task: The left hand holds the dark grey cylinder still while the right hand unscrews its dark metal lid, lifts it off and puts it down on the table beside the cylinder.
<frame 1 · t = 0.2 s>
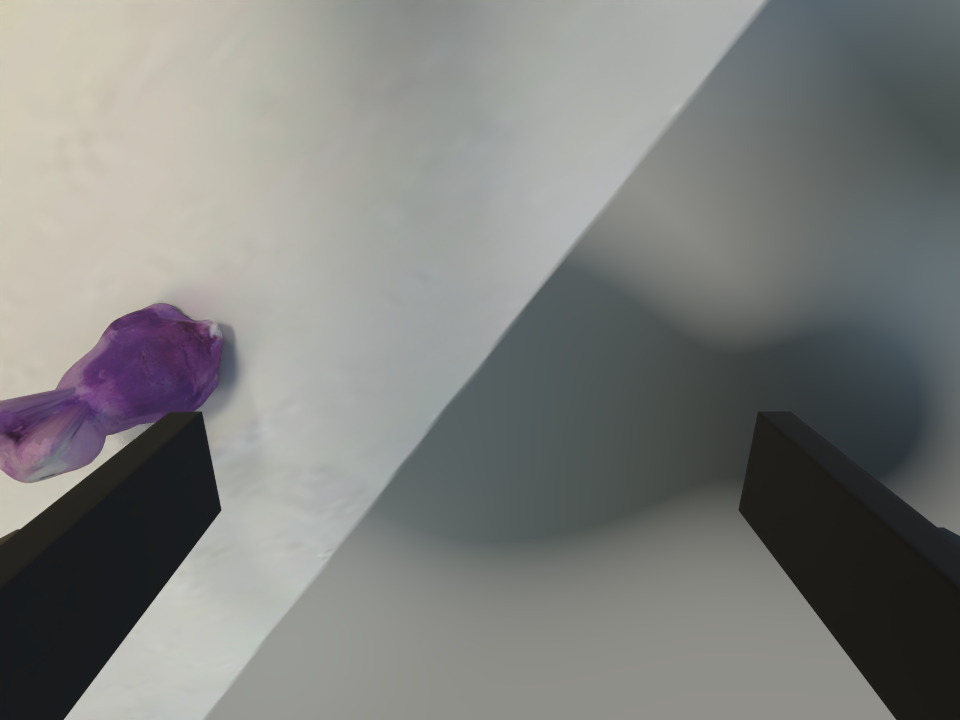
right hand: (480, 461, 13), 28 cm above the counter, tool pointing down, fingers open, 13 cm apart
figurine: (170, 362, 42), on the counter
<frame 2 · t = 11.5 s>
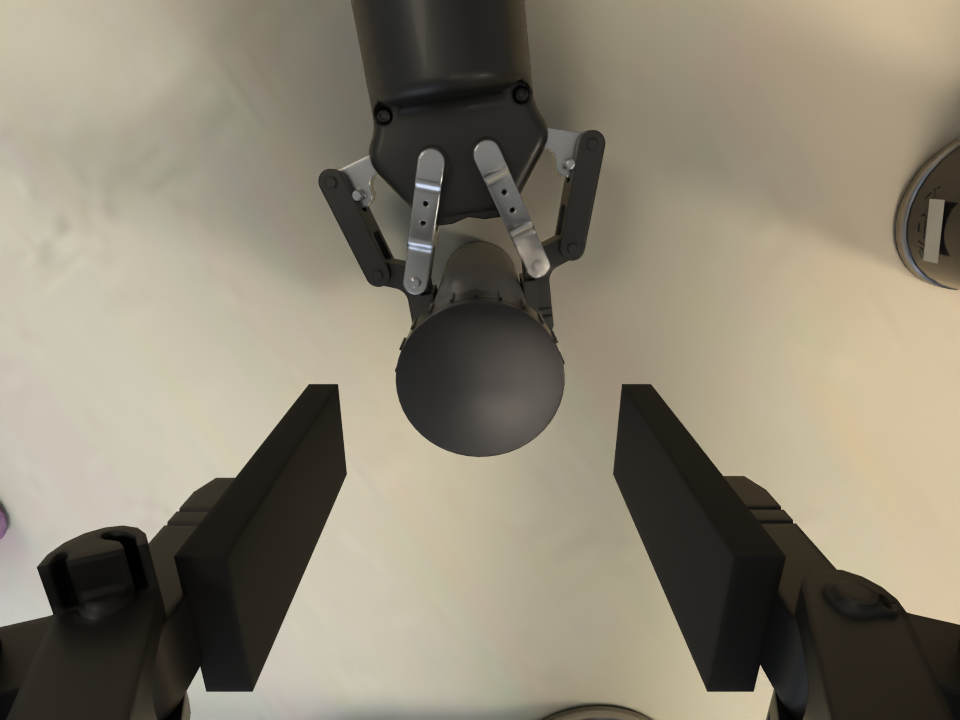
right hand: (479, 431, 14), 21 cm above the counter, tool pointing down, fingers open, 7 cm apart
left hand: (487, 348, 29), fingers closed on dark grey cylinder, 4 cm apart
dark grey cylinder: (480, 277, 34), on the counter, touching left hand
lid: (480, 379, 18), point 17 cm above the counter, screwed on, not yet turned
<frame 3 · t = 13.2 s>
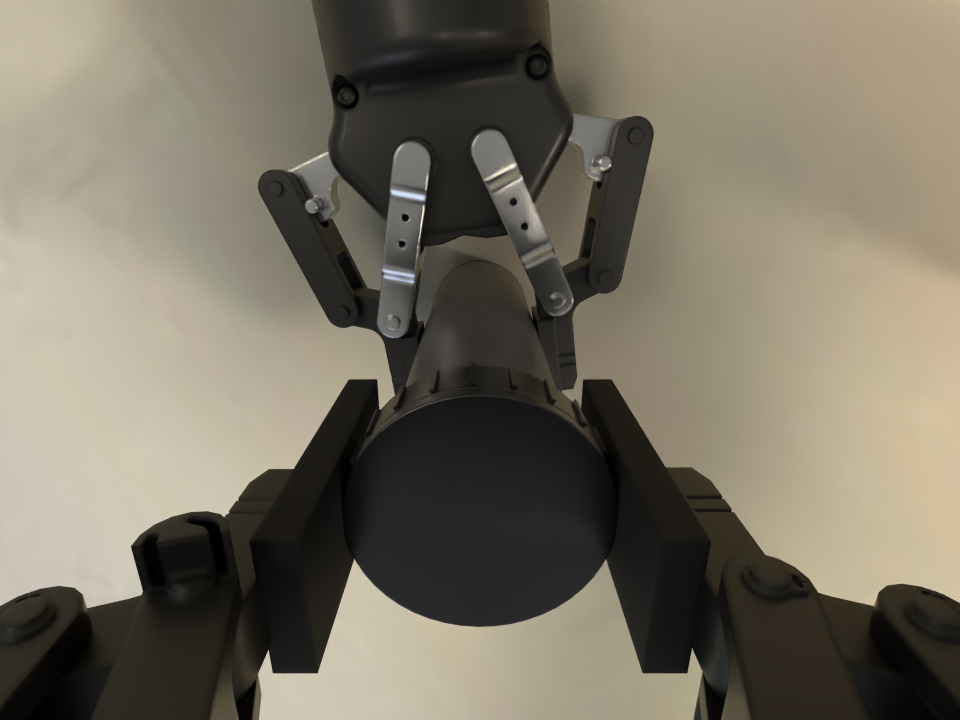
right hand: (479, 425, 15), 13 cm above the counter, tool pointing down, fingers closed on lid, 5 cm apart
left hand: (489, 403, 22), fingers closed on dark grey cylinder, 4 cm apart
dark grey cylinder: (480, 305, 27), on the counter, touching left hand
lid: (480, 510, 11), point 17 cm above the counter, screwed on, not yet turned, touching right hand
when the right hand's fingers open (14 cm above the counter, at t = 14.7 s): lid stays where it is, point 17 cm above the counter.
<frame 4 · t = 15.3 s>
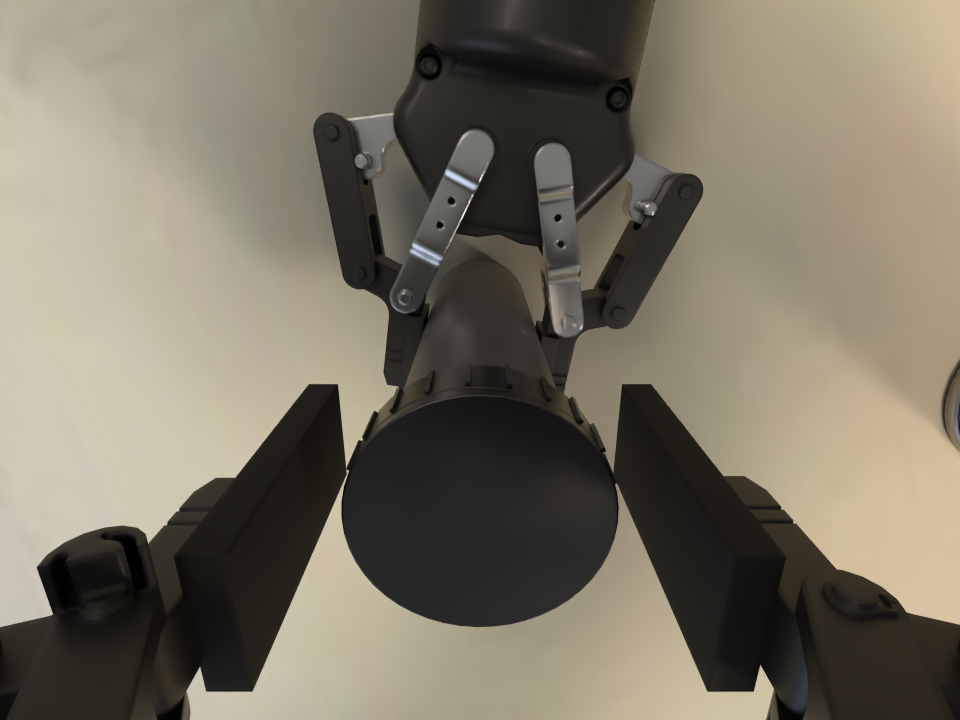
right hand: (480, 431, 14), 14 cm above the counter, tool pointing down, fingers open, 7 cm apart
left hand: (471, 401, 22), fingers closed on dark grey cylinder, 4 cm apart
dark grey cylinder: (480, 304, 27), on the counter, touching left hand
lid: (479, 510, 11), point 17 cm above the counter, turned 84° so far, risen 0.2 cm, still on its thread
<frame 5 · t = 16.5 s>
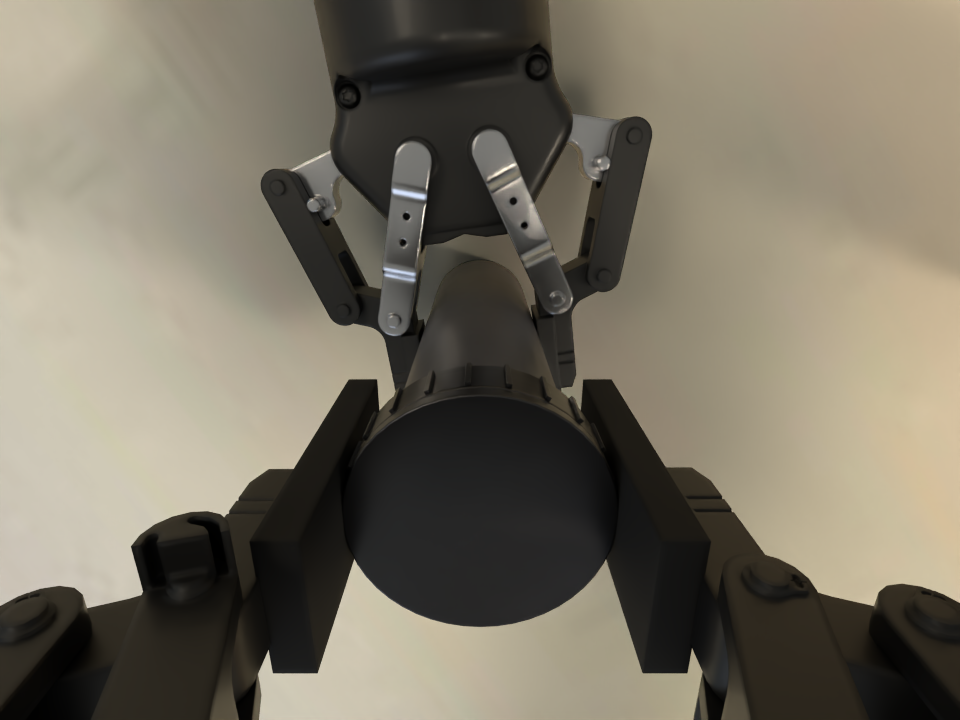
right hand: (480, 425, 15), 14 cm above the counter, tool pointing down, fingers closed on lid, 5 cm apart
left hand: (489, 401, 22), fingers closed on dark grey cylinder, 4 cm apart
dark grey cylinder: (480, 304, 27), on the counter, touching left hand
lid: (480, 510, 11), point 17 cm above the counter, turned 84° so far, risen 0.2 cm, still on its thread, touching right hand
when the right hand's fingers open (1 cm above the counter, at t = 21.5 s): lid drops 3 cm, point 1 cm above the counter.
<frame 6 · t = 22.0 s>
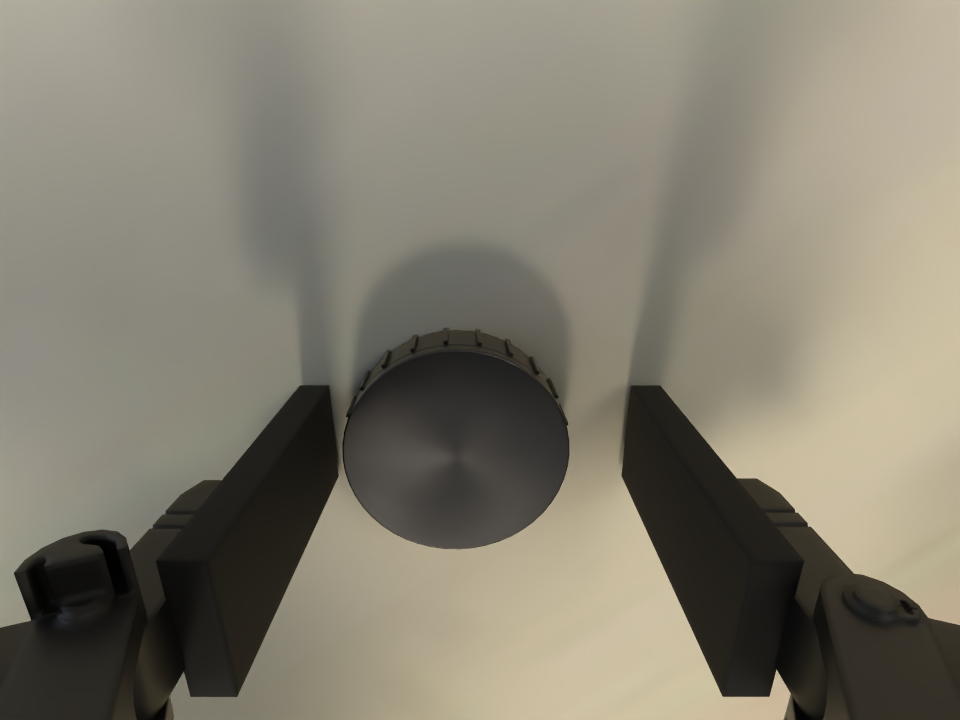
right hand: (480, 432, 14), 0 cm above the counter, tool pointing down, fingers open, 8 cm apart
lid: (457, 449, 13), point 1 cm above the counter, off its thread
when the left hand's fingers open (6 cm above the counter, at t = 23.3 s): dark grey cylinder stays where it is, on the counter.
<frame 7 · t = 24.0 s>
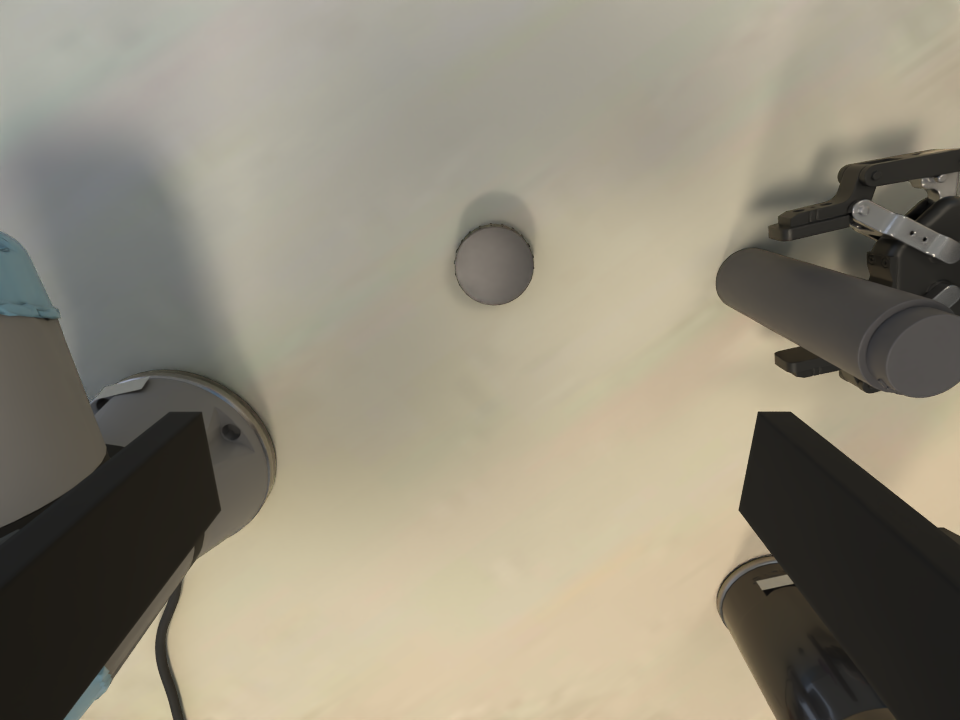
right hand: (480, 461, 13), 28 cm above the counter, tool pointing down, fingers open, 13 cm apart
left hand: (777, 301, 33), fingers open, 8 cm apart
dark grey cylinder: (746, 279, 39), on the counter
lid: (494, 266, 38), point 1 cm above the counter, off its thread
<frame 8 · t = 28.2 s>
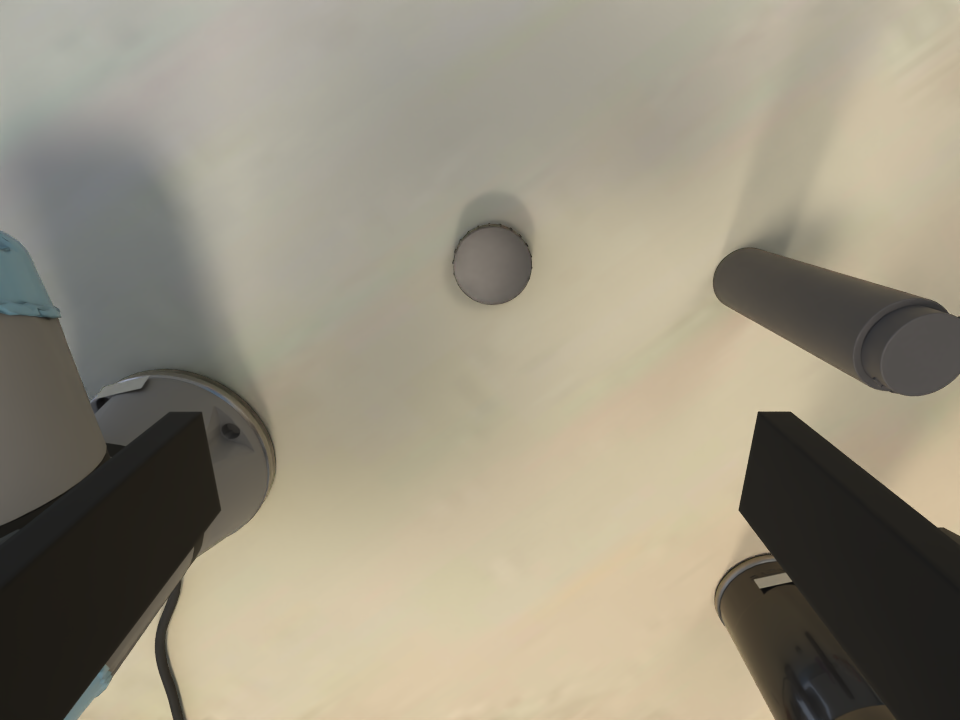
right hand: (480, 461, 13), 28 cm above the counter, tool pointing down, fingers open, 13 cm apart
dark grey cylinder: (743, 278, 39), on the counter
lid: (492, 265, 38), point 1 cm above the counter, off its thread
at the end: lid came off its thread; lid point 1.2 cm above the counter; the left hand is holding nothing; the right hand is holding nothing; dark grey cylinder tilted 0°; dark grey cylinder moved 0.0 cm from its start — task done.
